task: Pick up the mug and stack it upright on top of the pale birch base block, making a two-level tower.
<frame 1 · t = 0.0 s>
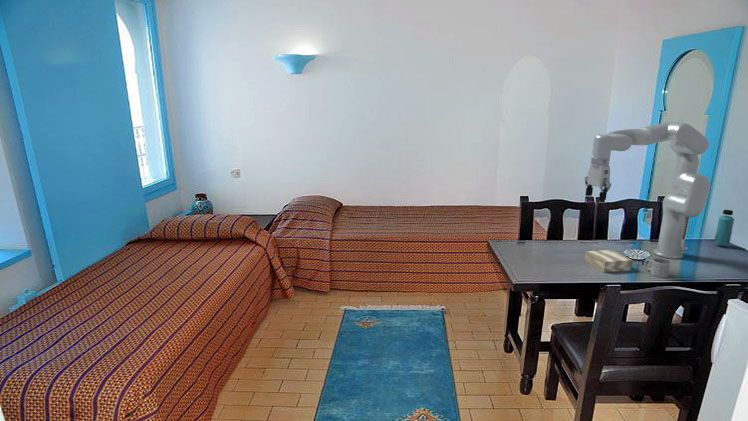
hand: (595, 198, 203), 31 cm above the table, tool pointing down, fingers open, 9 cm apart
base block: (607, 265, 205), on the table
beverage bottle: (720, 246, 231), on the table
mug: (654, 273, 196), on the table
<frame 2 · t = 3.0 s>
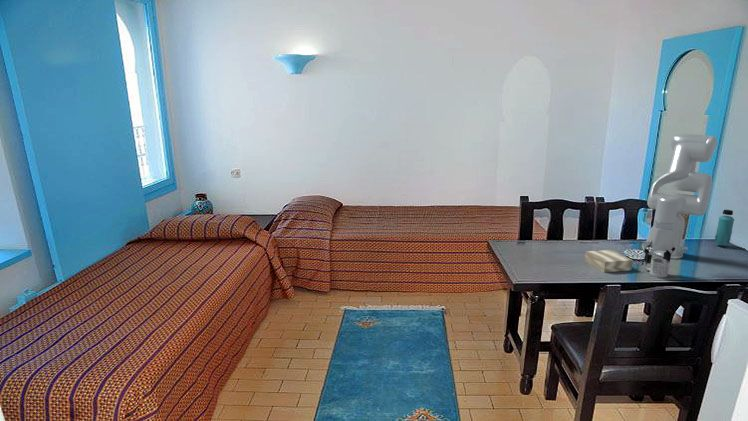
hand: (656, 262, 193), 6 cm above the table, tool pointing down, fingers open, 9 cm apart
nothing on the table moved.
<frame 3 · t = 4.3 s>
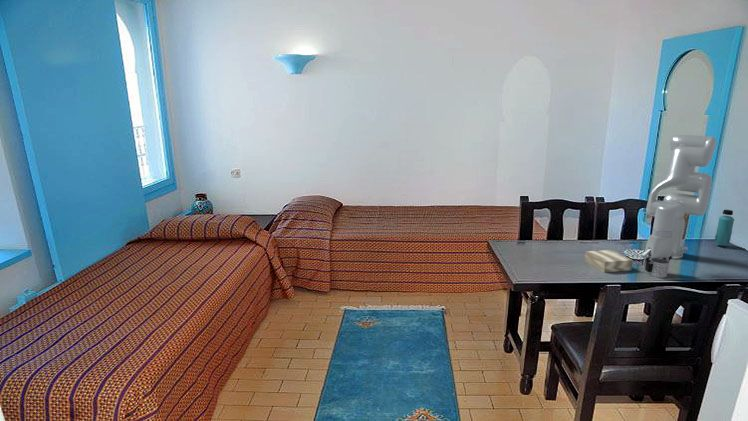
hand: (655, 270, 195), 2 cm above the table, tool pointing down, fingers closed on mug, 6 cm apart
mug: (653, 273, 196), on the table, touching gripper
everything else where it was.
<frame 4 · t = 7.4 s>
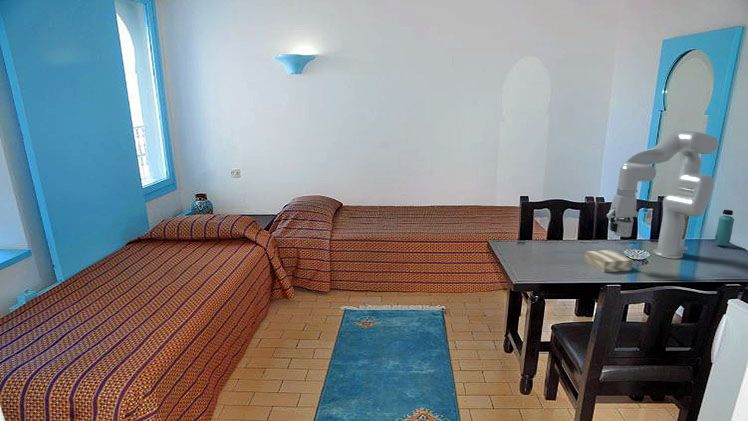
hand: (620, 230, 198), 18 cm above the table, tool pointing down, fingers closed on mug, 6 cm apart
mug: (618, 234, 199), point 16 cm above the table, touching gripper
everything else where it was.
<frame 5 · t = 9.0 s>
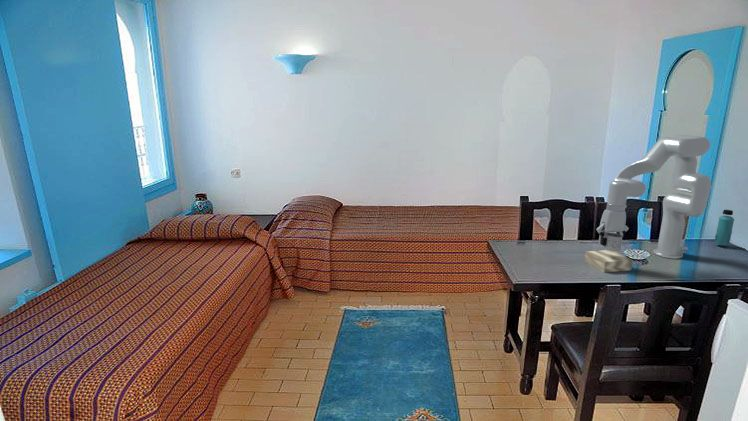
hand: (610, 244, 202), 11 cm above the table, tool pointing down, fingers closed on mug, 6 cm apart
mug: (608, 248, 202), point 9 cm above the table, touching gripper
everything else where it was.
when the fingers open (8 cm above the table, at t = 10.4 s): mug drops 1 cm, resting on base block.
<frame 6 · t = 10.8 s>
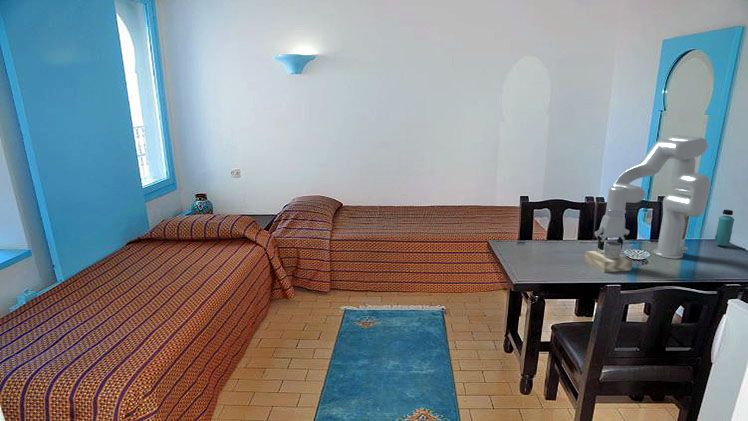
hand: (609, 248, 202), 9 cm above the table, tool pointing down, fingers open, 9 cm apart
mug: (607, 256, 203), point 5 cm above the table, touching base block
everything else where it was.
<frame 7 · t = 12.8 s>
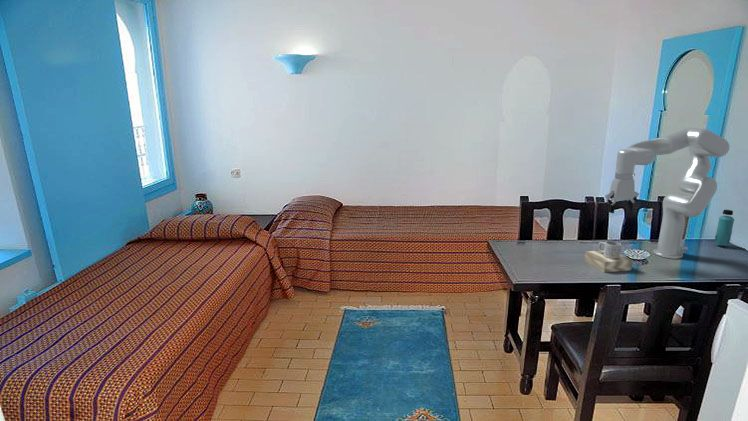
hand: (620, 211, 206), 24 cm above the table, tool pointing down, fingers open, 9 cm apart
nothing on the table moved.
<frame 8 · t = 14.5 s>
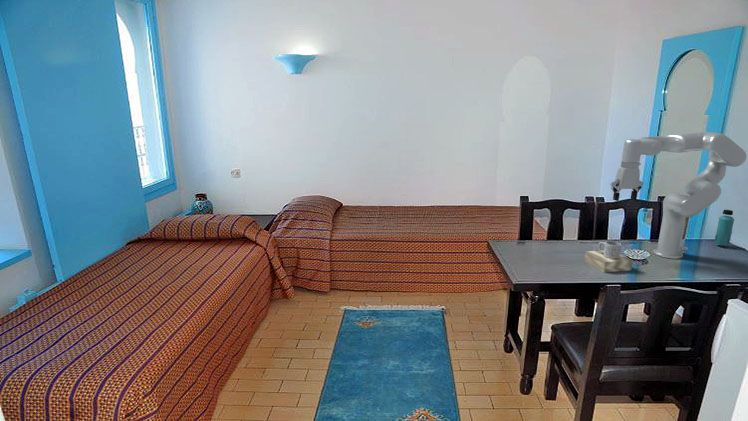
hand: (624, 199, 212), 28 cm above the table, tool pointing down, fingers open, 9 cm apart
nothing on the table moved.
at the end: mug inside the target area on the base block (0.4 cm from its centre), point 4.8 cm above the base block's base; mug tilted 0°; the gripper is holding nothing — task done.
